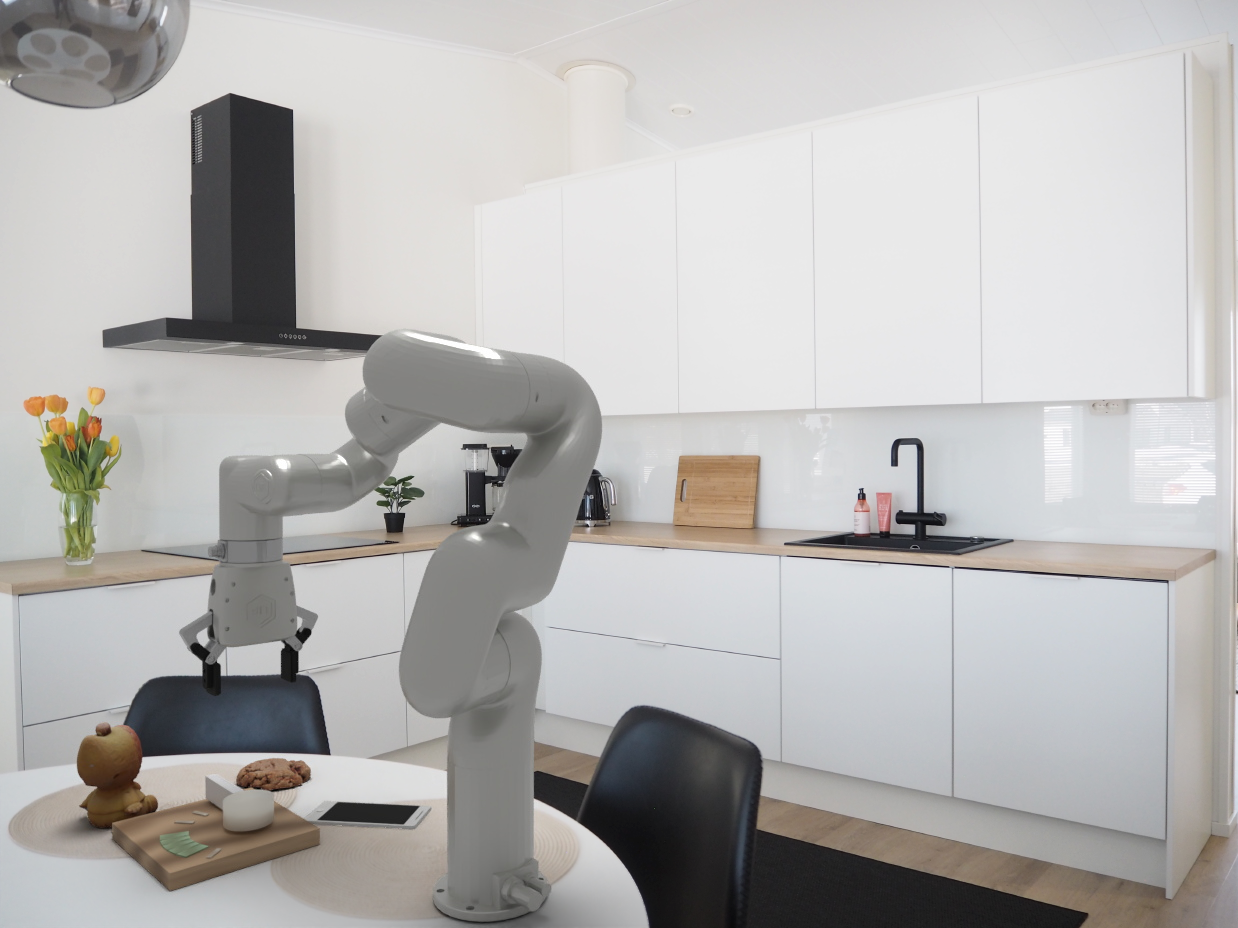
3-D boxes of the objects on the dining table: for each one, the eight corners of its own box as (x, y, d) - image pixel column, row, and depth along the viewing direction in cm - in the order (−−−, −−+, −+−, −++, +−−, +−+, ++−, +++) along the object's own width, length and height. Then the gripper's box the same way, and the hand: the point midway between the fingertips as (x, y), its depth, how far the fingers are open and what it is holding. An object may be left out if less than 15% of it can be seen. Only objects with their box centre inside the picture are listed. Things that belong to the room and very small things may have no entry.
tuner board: (319, 843, 120) (319, 826, 120) (170, 890, 107) (169, 871, 107) (251, 801, 134) (251, 785, 134) (112, 838, 122) (112, 821, 122)
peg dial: (282, 821, 121) (282, 798, 121) (234, 835, 117) (234, 810, 116) (233, 790, 131) (232, 769, 131) (188, 802, 127) (187, 779, 127)
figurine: (172, 809, 131) (152, 711, 127) (132, 844, 124) (109, 741, 120) (112, 802, 134) (91, 706, 130) (70, 835, 127) (46, 735, 123)
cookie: (242, 773, 147) (241, 754, 147) (314, 768, 149) (314, 749, 149) (229, 797, 137) (229, 776, 137) (307, 791, 139) (307, 771, 139)
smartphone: (324, 806, 134) (324, 799, 134) (431, 811, 132) (431, 804, 132) (301, 826, 127) (301, 819, 127) (414, 832, 125) (414, 825, 125)
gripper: (191, 561, 113) (192, 705, 113) (329, 550, 125) (329, 681, 125) (169, 555, 118) (170, 693, 119) (303, 545, 130) (303, 670, 131)
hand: (251, 686), depth 122 cm, fingers open, 9 cm apart
